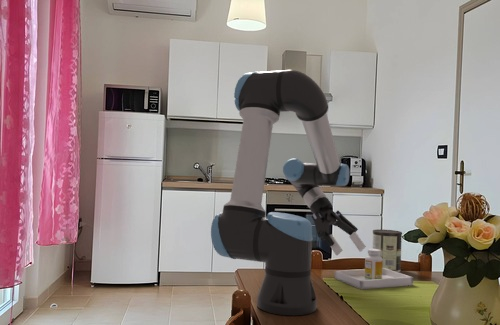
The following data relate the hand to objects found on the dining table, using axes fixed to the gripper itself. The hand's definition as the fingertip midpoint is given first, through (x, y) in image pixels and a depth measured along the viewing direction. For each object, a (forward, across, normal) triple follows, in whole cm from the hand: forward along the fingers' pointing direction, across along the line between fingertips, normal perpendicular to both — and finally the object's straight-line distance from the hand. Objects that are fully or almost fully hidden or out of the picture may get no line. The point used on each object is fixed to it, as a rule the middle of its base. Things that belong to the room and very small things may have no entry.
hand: (351, 251), depth 152 cm
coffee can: (+7, -21, -5) cm, 22 cm away
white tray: (+12, 0, 0) cm, 12 cm away
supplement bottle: (+12, 0, 0) cm, 12 cm away
